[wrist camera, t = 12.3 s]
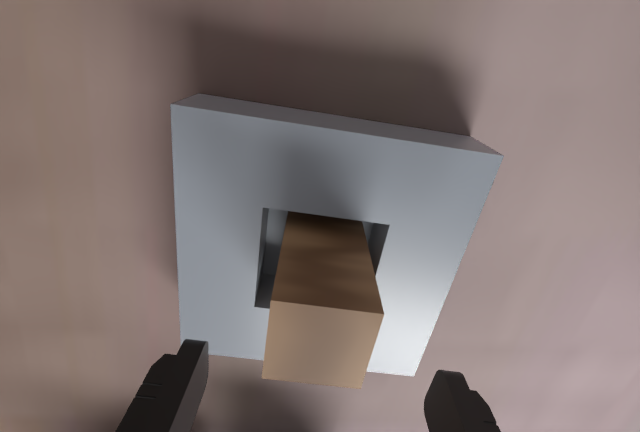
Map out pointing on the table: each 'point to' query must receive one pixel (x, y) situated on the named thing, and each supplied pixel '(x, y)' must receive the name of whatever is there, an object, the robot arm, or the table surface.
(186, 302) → the holder
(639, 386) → the table surface
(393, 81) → the table surface
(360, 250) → the wooden block
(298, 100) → the table surface
